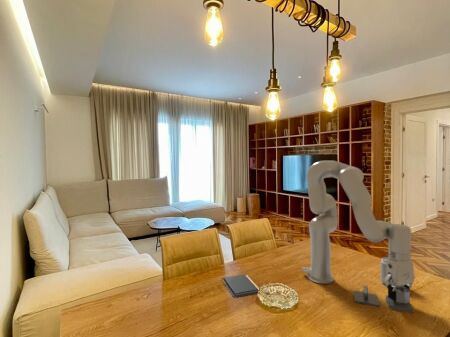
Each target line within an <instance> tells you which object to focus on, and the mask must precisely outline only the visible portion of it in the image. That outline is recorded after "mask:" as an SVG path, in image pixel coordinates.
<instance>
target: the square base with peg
mask: <svg viewBox="0 0 450 337" xmlns="http://www.w3.org/2000/svg"><path fill="white" fill-rule="evenodd" d="M385 300H386V303H387V306H388V309H389V310H395V311H401V312H405V313H410V314H414V308H413V307H412V304H411V301H410V302H409V303H405V304H404V303H400V302H396V301H393V300H391V299H390V298H388V294H387V295H385Z"/></svg>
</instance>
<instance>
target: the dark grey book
mask: <svg viewBox="0 0 450 337" xmlns="http://www.w3.org/2000/svg"><path fill="white" fill-rule="evenodd" d="M221 279H222V280H224V281H225V282H226V283H223V285H224V284H225V285H226V286H225V285H224V286H225V287H227V288H228V289H227V288H226V289H227V291H228V290H229V291H228V293H229V294H230V293H231V294H230V296H231V295H232V296H231V297H232V298H234V299H239V297H240V298H243V297H244V298H245V297H249V296H254V295H258V294H257V293H258V291H259V288H260V287H259V285H258V284H256V282H254V280H253V279H251V277H250V276H249V275H248V274H240V275H239V274H238V275H232V276H227V277H226V276H225V277H221V278H220V280H221ZM222 280H221V281H222Z"/></svg>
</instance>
